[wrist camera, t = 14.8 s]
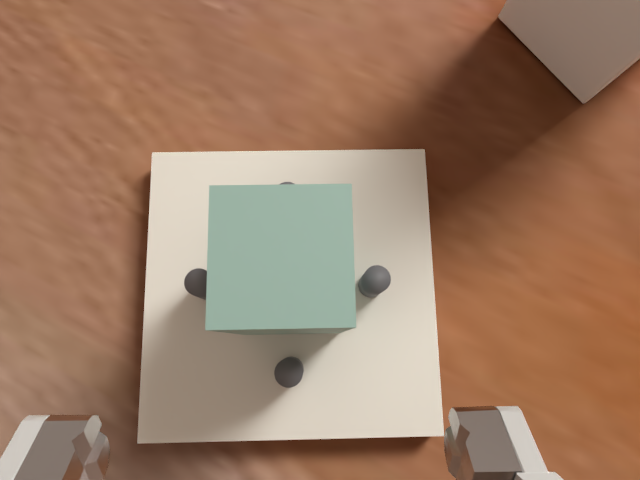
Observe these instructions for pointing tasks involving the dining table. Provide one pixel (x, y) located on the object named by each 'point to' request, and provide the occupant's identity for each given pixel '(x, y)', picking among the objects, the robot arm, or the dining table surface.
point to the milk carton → (578, 38)
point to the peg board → (292, 349)
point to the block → (280, 259)
